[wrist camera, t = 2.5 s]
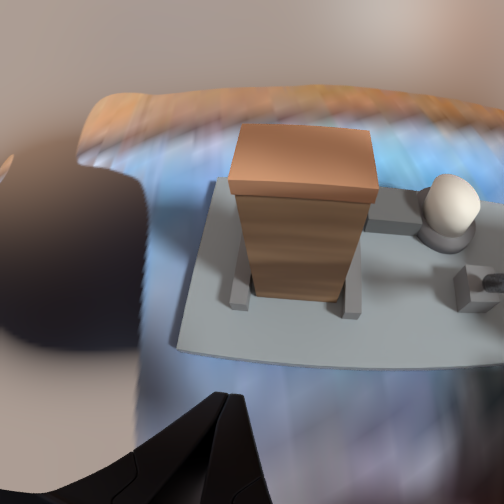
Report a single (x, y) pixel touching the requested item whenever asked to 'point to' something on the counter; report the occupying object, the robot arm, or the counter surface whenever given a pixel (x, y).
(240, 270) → the control board
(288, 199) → the brown tall rectangular block
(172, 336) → the counter surface
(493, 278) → the dark gray metallic lever
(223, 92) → the counter surface
